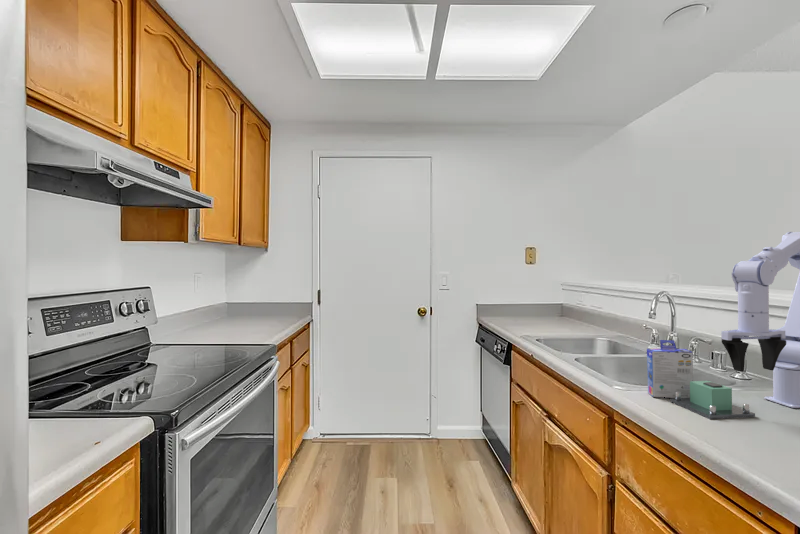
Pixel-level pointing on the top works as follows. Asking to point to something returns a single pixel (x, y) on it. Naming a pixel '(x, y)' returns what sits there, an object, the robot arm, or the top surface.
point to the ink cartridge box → (669, 371)
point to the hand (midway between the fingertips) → (753, 370)
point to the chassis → (712, 409)
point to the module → (711, 395)
